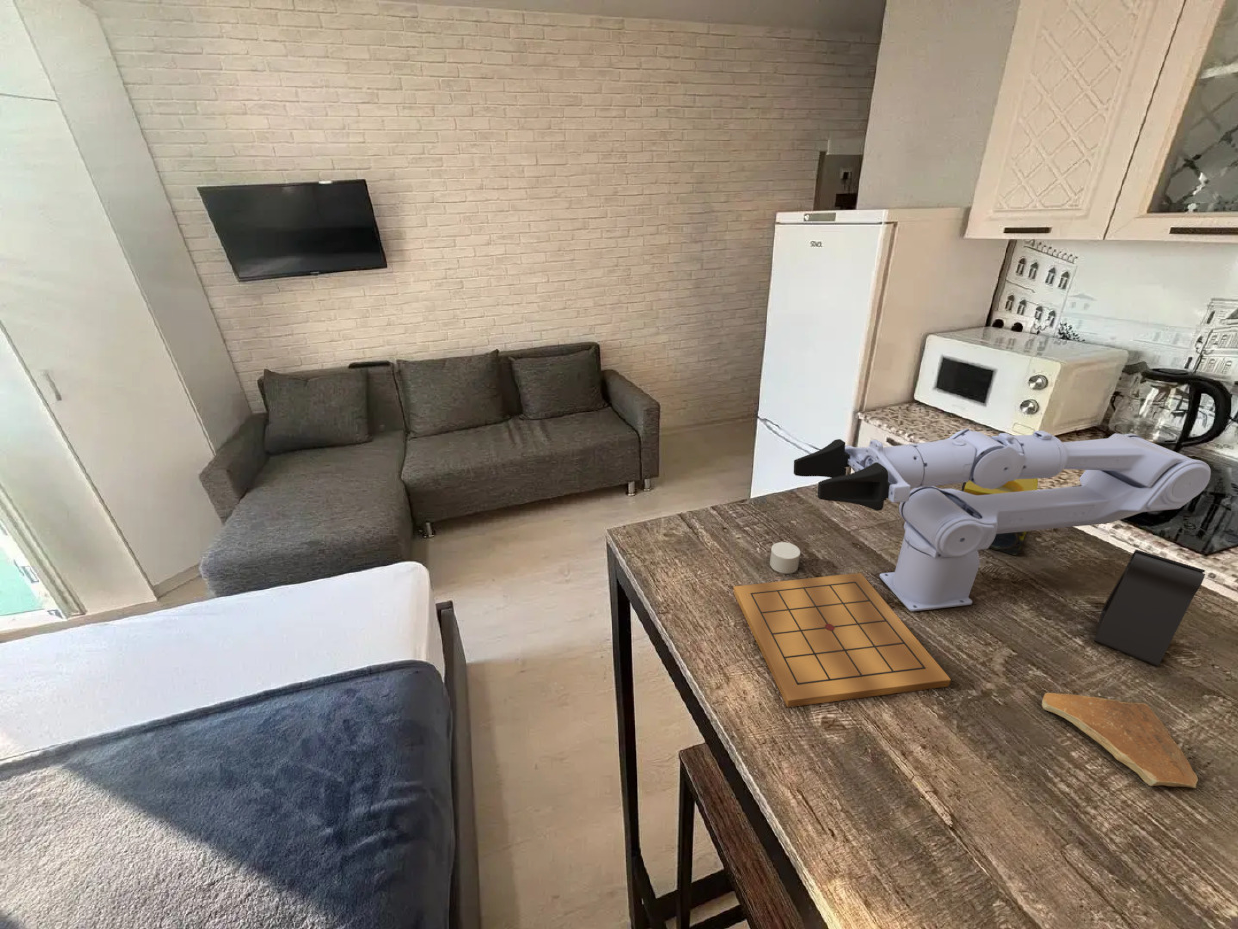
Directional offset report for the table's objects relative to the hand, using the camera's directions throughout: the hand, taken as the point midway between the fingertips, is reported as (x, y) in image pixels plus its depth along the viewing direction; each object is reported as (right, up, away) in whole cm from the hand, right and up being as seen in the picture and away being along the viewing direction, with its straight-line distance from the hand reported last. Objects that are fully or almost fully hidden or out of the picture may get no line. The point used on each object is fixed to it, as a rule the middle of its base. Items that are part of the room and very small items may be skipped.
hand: (806, 478), depth 65 cm
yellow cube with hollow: (+39, -10, +23) cm, 46 cm away
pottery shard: (+28, -28, -11) cm, 41 cm away
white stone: (+3, -14, +17) cm, 22 cm away
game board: (+4, -21, +3) cm, 22 cm away
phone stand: (+43, -21, +1) cm, 47 cm away
